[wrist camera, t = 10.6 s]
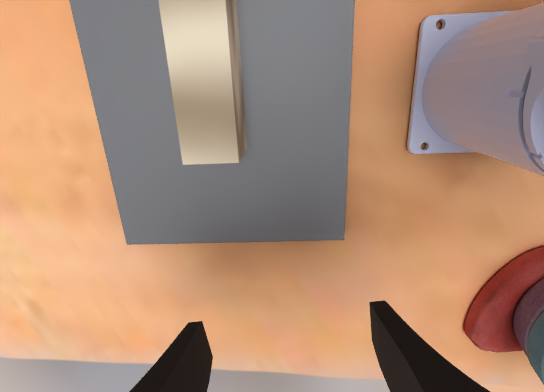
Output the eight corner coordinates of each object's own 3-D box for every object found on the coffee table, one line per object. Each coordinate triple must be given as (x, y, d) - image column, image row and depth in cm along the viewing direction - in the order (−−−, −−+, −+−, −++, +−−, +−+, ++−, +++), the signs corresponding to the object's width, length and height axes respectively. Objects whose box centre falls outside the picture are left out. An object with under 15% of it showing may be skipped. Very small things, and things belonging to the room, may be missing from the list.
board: (365, -348, 13) (371, -381, 12) (341, 233, 23) (344, 239, 22) (9, -308, 14) (-11, -336, 13) (133, 238, 24) (126, 244, 23)
